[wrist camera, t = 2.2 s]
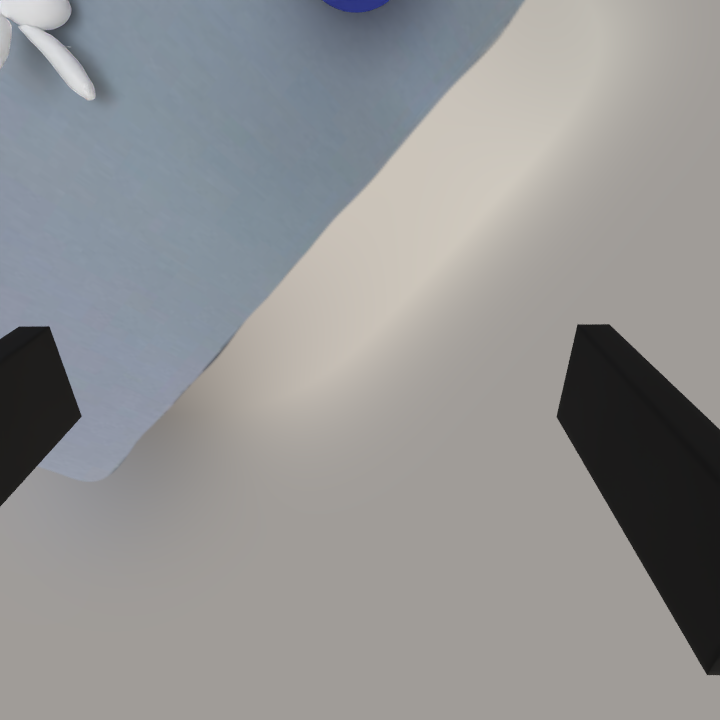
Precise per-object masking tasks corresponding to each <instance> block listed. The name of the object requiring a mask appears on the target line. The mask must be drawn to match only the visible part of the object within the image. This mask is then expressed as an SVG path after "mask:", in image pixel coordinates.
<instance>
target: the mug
mask: <svg viewBox="0 0 720 720" xmlns="http://www.w3.org/2000/svg"><path fill="white" fill-rule="evenodd" d="M323 1H324V2H325V3H327V4H329V5H330V6H332V7H334V8H336V9H339V10H342V11H346V12H356V13H357V12H366V11H370V10H373V9H376V8H378V7H380V6H382V5H383V4H385V3H386V2H388V1H389V0H323Z"/></svg>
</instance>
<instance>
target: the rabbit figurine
mask: <svg viewBox="0 0 720 720" xmlns="http://www.w3.org/2000/svg"><path fill="white" fill-rule="evenodd" d="M71 10H72V9H71V5H70V3H69V1H68V0H0V69H1V68H2V67H3V65H4V63H5V62H6V60H7V57H8V55H9V51H10V44H11V35H12V25H11V23H10V22H9V21H8V20H7V19H6V18H5V17H7V18H9V19H10V20H12V21H13V22H15V23H17V24H19V25H21V26H18V27H19V29H20V30H21V31H22V32H23V33H24V34H25V35H26V37H27V38H28V39H29V40H30V41H31V42H32V43H33V44H34V45H35V46H36V47H37V48H38V49H39V50H40V51H41V52H42V54H43V55H44V56H45V57H46V58H47V59H48V61H49V62H50V63H51V64H52V66H53V67H54V68H55V69H56V71H57V72H58V73H59V75H60V76H61V77H62V79H63V80H64V81H65V82H66V84H67V85H68V86H69V87H70V88H71V89H72V90H73V91H75V92H76V93H77V94H79V95H80V96H82V97H84V98H85V99H87V100H93V99H95V96H96V94H95V88H94V85H93V83H92V82H91V80H90V78H89V77H88V75H87V73H86V72H85V70H84V68H83V67H82V65H81V64H80V63H79V61H78V60H77V59H76V58H75V57H74V56H73V54H72V53H71V52H70V51H69V50H68V49H67V48H66V47H69V48H72V47H70V46H64V45H63V44H62V43H61V42H60V41H58V40H57V39H56V38H55V37H53V36H52V35H51V34H48V33H46V32H45V31H43V30H53V29H56V28H59V27H61V26H62V25H64V24H65V23H66V22H67V21H68V19H69V17H70V15H71Z"/></svg>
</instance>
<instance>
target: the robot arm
mask: <svg viewBox="0 0 720 720" xmlns="http://www.w3.org/2000/svg"><path fill="white" fill-rule="evenodd" d="M81 417H82V416H81V413H80V411H79V408H78V405H77V402H76V399H75V397H74V394H73V391H72V388H71V386H70V383H69V380H68V377H67V374H66V372H65V369H64V366H63V363H62V360H61V358H60V355H59V352H58V349H57V347H56V344H55V341H54V338H53V335H52V333H51V330H50V327H18V328H16V329H15V330H13V331H12V332H10V333H9V334H7V335H6V336H4V337H3V338H1V339H0V506H1V505H2V504H3V503H4V502H5V501H6V500H7V498H8V497H9V496H10V495H11V494H12V493H13V492H14V491H15V490H16V488H17V487H18V486H19V485H20V484H21V483H22V482H23V481H24V480H25V478H26V477H27V476H28V475H29V474H30V473H31V472H32V471H33V470H34V469H35V468H36V466H37V465H38V464H39V463H40V462H41V461H42V460H43V459H44V458H45V456H46V455H47V454H48V453H49V452H50V451H51V450H52V449H53V448H54V447H55V445H56V444H57V443H58V442H59V441H60V440H61V439H62V438H63V437H64V435H65V434H66V433H67V432H68V431H69V430H70V429H71V428H72V427H73V425H74V424H75V423H76V422H77V421H78V420H79V419H80V418H81ZM557 418H558V420H559V422H560V423H561V425H562V427H563V428H564V430H565V432H566V434H567V435H568V437H569V439H570V440H571V442H572V444H573V446H574V447H575V449H576V451H577V453H578V454H579V456H580V458H581V459H582V461H583V463H584V465H585V466H586V468H587V470H588V471H589V473H590V475H591V477H592V478H593V480H594V482H595V483H596V485H597V487H598V489H599V490H600V492H601V494H602V495H603V497H604V499H605V501H606V502H607V504H608V506H609V508H610V509H611V511H612V513H613V514H614V516H615V518H616V519H617V521H618V523H619V525H620V526H621V528H622V530H623V532H624V533H625V535H626V537H627V538H628V540H629V542H630V543H631V545H632V547H633V549H634V550H635V552H636V553H637V556H638V557H639V559H640V560H641V562H642V564H643V566H644V568H645V569H646V571H647V573H648V574H649V576H650V578H651V579H652V581H653V583H654V585H655V586H656V588H657V590H658V591H659V593H660V595H661V597H662V598H663V600H664V602H665V604H666V605H667V607H668V609H669V610H670V612H671V614H672V615H673V617H674V619H675V621H676V622H677V624H678V626H679V628H680V629H681V631H682V633H683V634H684V636H685V638H686V639H687V641H688V643H689V645H690V646H691V648H692V650H693V652H694V653H695V655H696V657H697V658H698V660H699V662H700V664H701V665H702V667H703V669H704V670H705V672H706V674H707V675H720V429H719V428H717V427H716V426H715V425H714V424H713V423H712V422H711V421H710V420H709V419H708V418H707V417H706V416H705V415H704V414H703V413H702V412H701V411H700V410H698V408H696V407H695V406H694V405H693V404H692V403H691V402H690V401H689V400H688V399H687V398H686V397H685V396H684V395H683V394H682V393H681V392H680V391H679V390H677V388H675V387H674V386H673V385H672V384H671V383H670V382H669V381H668V380H667V379H666V378H665V377H664V376H663V375H662V374H661V373H660V372H659V371H658V370H656V369H655V368H654V367H653V366H652V365H651V364H650V363H649V362H648V361H647V360H646V359H645V358H644V357H643V356H642V355H641V354H640V353H638V352H637V350H636V349H634V348H633V347H632V346H631V345H630V344H629V343H628V342H627V341H626V340H625V339H624V338H623V337H622V336H621V335H620V334H619V333H618V332H617V331H615V329H613V328H612V327H611V326H610V325H609V324H607V325H606V324H605V325H604V324H603V325H577V330H576V334H575V338H574V343H573V347H572V351H571V356H570V360H569V365H568V369H567V373H566V378H565V382H564V387H563V391H562V395H561V400H560V404H559V409H558V413H557Z"/></svg>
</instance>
